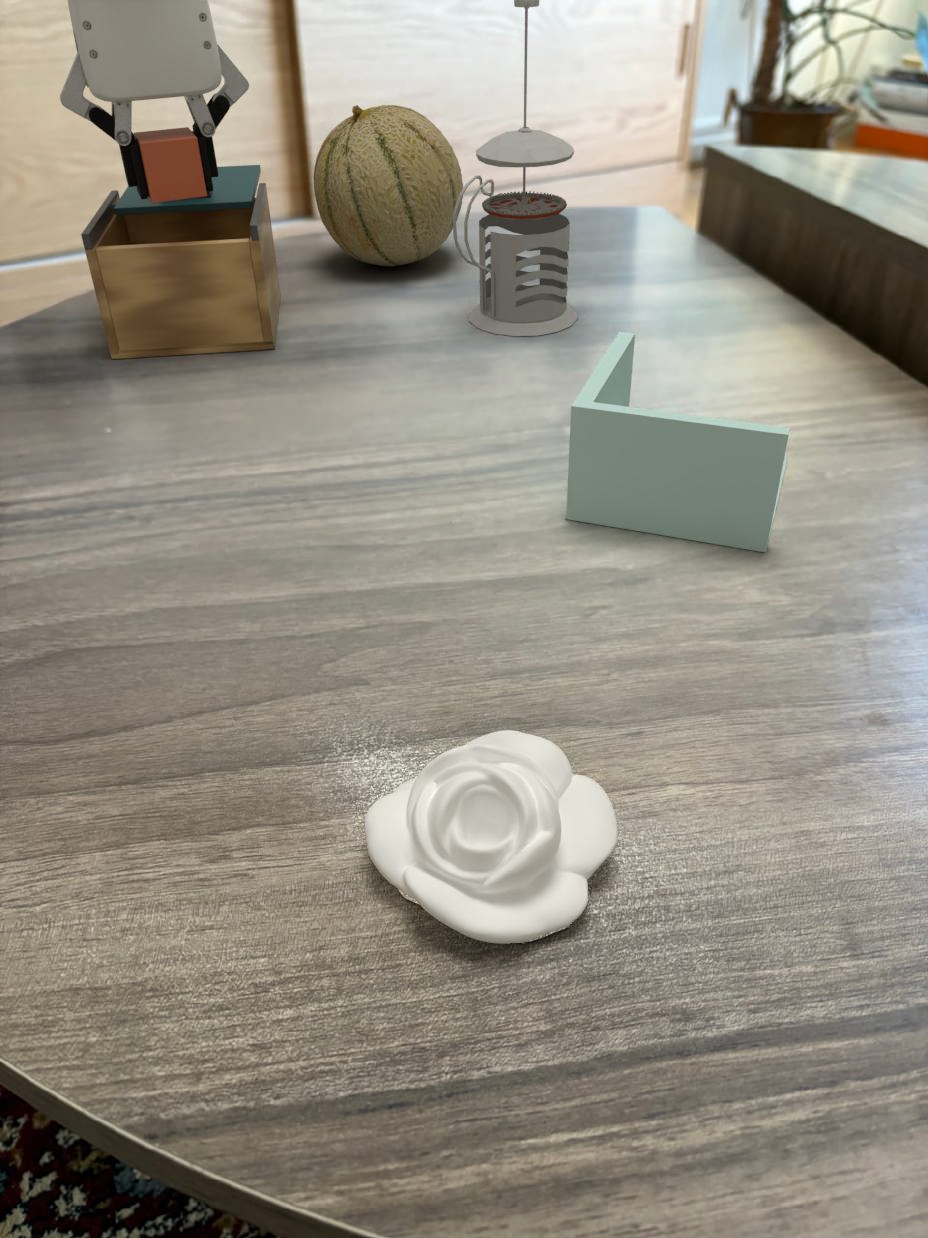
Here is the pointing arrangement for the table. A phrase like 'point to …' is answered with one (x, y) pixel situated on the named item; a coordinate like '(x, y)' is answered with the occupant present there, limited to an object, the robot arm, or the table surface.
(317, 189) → the cantaloupe
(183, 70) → the robot arm
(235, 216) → the wooden box
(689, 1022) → the table surface
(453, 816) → the rose
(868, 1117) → the table surface
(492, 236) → the french press
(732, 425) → the l-shaped corner panel
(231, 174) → the sliding door
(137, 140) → the block
